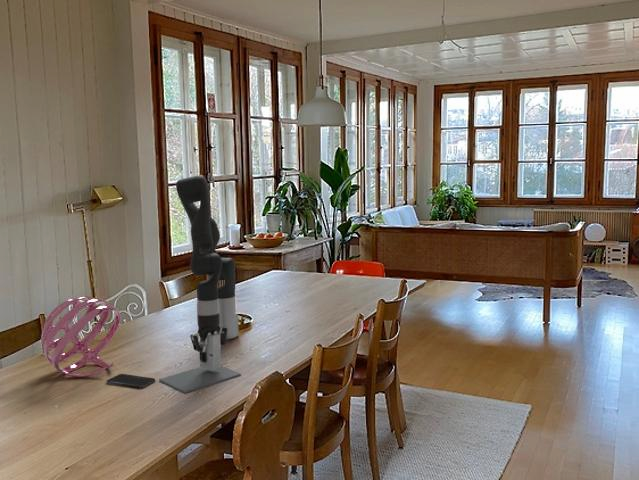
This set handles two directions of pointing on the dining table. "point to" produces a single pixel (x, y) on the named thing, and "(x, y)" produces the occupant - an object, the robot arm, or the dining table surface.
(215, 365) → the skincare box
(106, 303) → the spiral basket
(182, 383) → the rubber mat
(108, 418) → the dining table surface
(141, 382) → the phone
